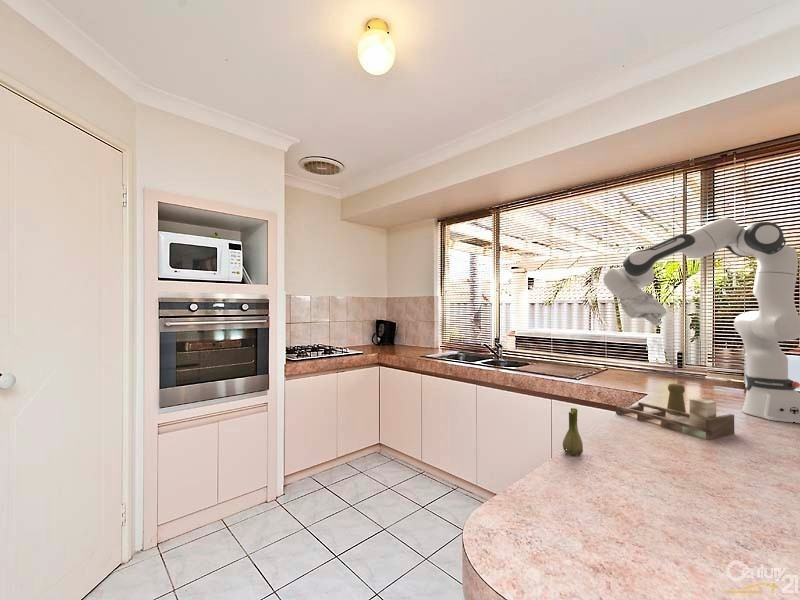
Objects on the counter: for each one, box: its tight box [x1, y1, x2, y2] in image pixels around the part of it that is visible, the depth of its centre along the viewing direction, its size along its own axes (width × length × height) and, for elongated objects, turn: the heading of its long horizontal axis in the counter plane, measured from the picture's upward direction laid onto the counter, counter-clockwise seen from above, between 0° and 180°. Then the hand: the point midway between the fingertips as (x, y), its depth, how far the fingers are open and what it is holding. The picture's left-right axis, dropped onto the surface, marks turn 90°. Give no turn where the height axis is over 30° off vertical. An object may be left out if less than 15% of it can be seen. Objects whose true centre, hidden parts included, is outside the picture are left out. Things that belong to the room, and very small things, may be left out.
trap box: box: [615, 402, 735, 441], centre depth 131 cm, size 30×14×6 cm, turn 25°
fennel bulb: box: [562, 407, 584, 456], centre depth 102 cm, size 6×5×12 cm
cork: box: [666, 383, 687, 416], centre depth 144 cm, size 6×6×11 cm
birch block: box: [689, 397, 717, 428], centre depth 122 cm, size 5×5×8 cm
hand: (658, 324), depth 147 cm, fingers closed
